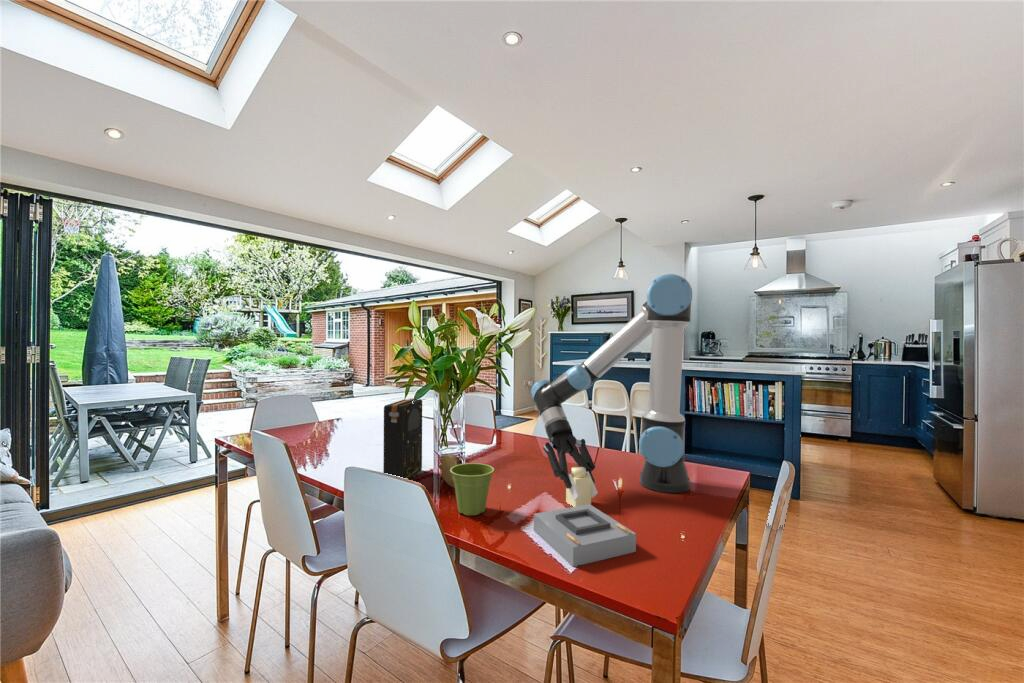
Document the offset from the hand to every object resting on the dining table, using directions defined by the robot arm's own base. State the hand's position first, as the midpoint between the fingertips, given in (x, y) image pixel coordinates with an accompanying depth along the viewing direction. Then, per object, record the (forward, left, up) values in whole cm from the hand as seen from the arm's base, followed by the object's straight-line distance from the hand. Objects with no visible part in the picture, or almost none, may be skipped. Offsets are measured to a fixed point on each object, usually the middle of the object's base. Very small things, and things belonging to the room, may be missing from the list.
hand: (585, 496), depth 118 cm
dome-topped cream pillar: (0, -4, -3) cm, 5 cm away
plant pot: (+29, -11, -4) cm, 31 cm away
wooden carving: (+28, -31, -4) cm, 42 cm away
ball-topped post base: (+11, +15, -3) cm, 19 cm away
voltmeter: (+41, -47, -3) cm, 62 cm away
